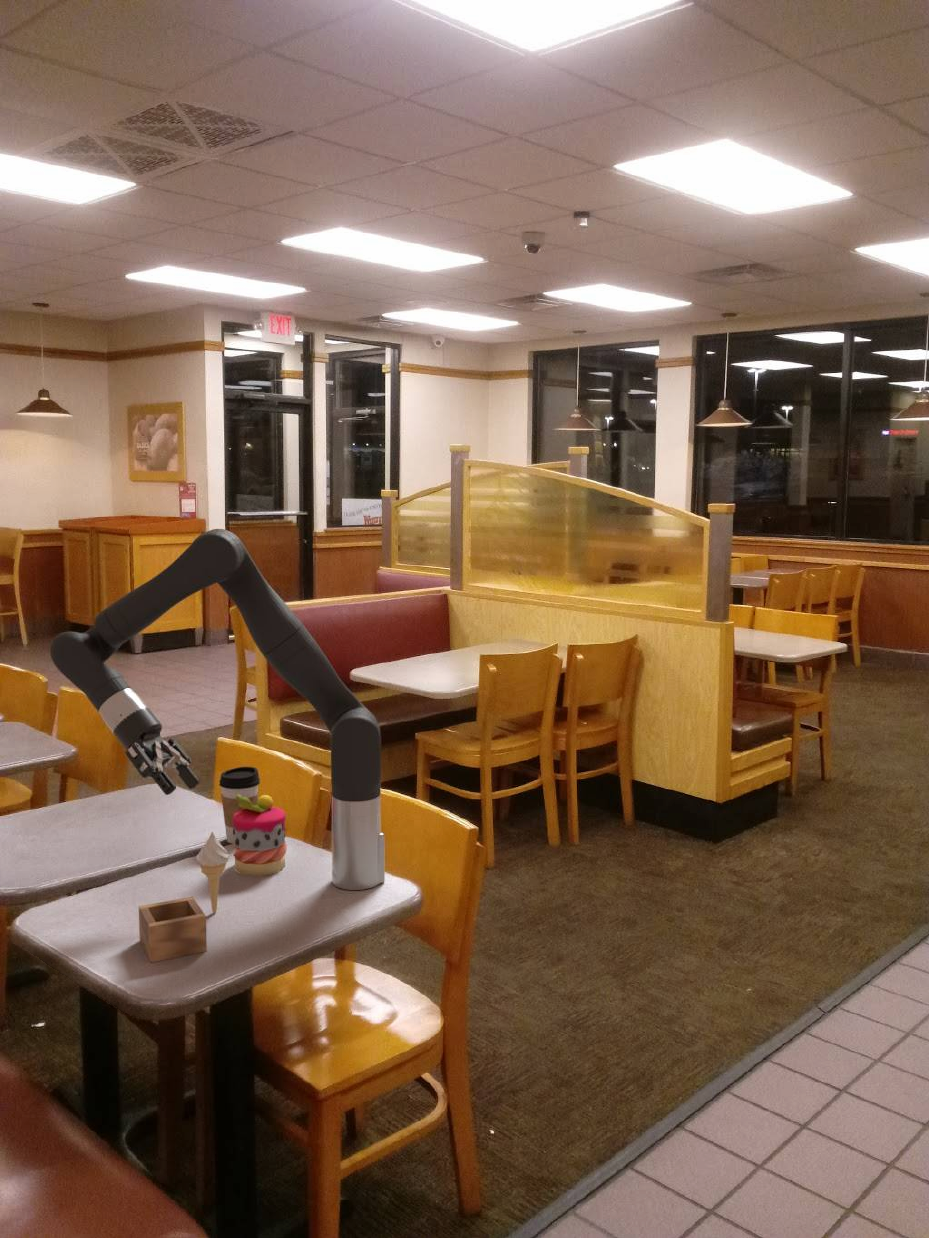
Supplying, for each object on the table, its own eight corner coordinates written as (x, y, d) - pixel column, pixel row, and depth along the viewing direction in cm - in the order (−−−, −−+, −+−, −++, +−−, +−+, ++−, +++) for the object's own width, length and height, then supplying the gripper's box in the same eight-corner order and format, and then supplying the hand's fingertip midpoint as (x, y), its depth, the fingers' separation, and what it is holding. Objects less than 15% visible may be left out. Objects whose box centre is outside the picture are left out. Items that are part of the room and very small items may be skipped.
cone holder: (193, 930, 178) (192, 896, 177) (206, 951, 170) (205, 916, 169) (139, 940, 173) (138, 906, 173) (150, 962, 166) (149, 926, 165)
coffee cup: (268, 839, 223) (267, 771, 221) (235, 849, 216) (234, 779, 214) (245, 830, 228) (244, 763, 226) (212, 839, 222) (211, 771, 220)
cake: (261, 853, 214) (260, 782, 212) (298, 864, 208) (297, 792, 206) (222, 868, 206) (220, 794, 204) (259, 880, 200) (257, 805, 198)
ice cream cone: (222, 920, 182) (220, 837, 180) (192, 917, 183) (190, 835, 181) (235, 907, 187) (233, 827, 185) (206, 905, 188) (204, 824, 186)
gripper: (123, 708, 181) (178, 779, 178) (164, 704, 195) (216, 770, 192) (93, 736, 182) (148, 808, 179) (137, 730, 196) (188, 797, 193)
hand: (184, 788), depth 185 cm, fingers open, 8 cm apart
